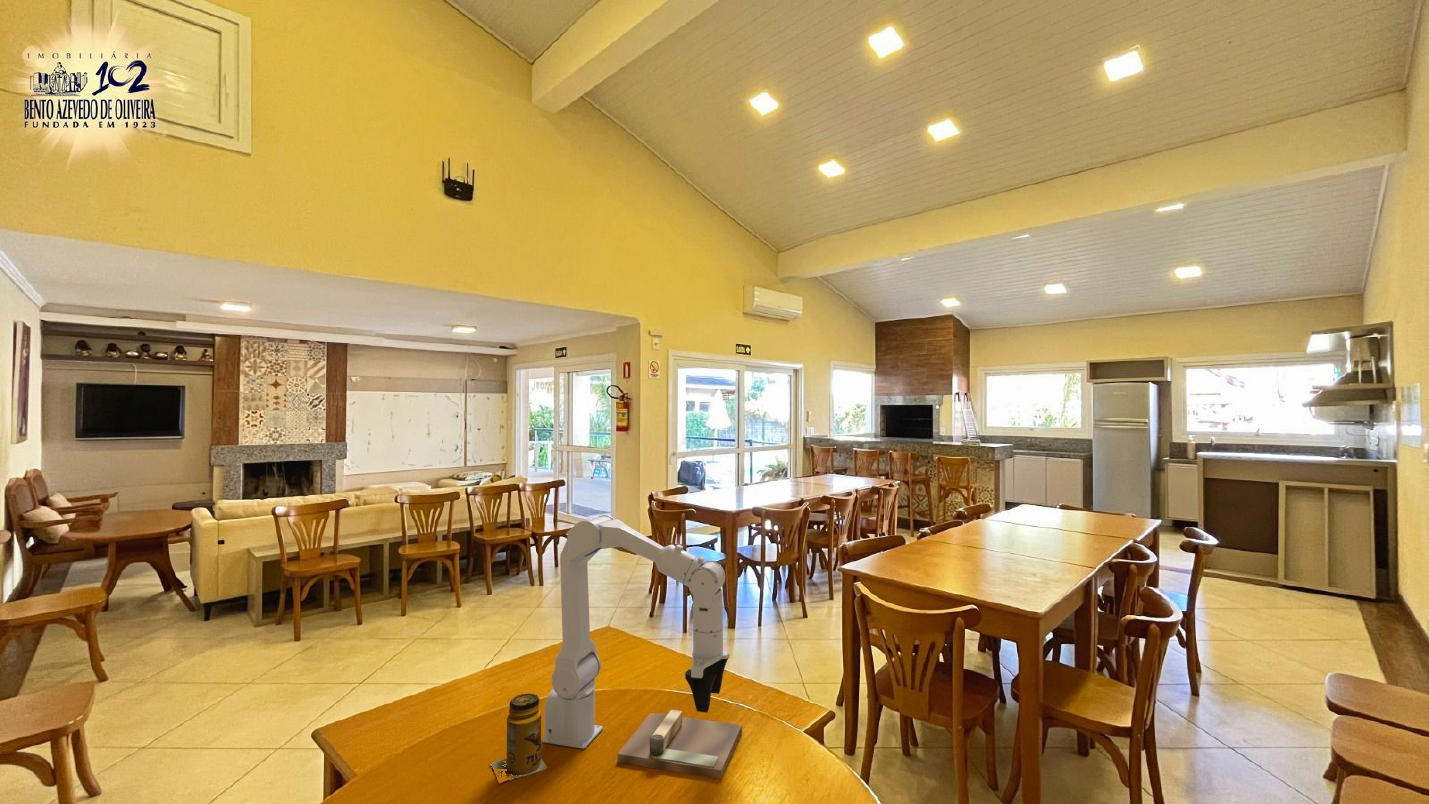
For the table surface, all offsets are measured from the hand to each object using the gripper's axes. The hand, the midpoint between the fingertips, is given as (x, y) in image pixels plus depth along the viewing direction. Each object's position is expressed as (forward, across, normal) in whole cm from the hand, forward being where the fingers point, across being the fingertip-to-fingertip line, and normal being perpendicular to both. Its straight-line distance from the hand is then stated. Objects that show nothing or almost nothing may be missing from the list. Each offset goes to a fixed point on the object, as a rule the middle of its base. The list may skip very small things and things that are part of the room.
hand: (708, 701), depth 105 cm
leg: (+8, +1, +9) cm, 12 cm away
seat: (+10, +2, +6) cm, 12 cm away
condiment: (+10, -12, +33) cm, 37 cm away
